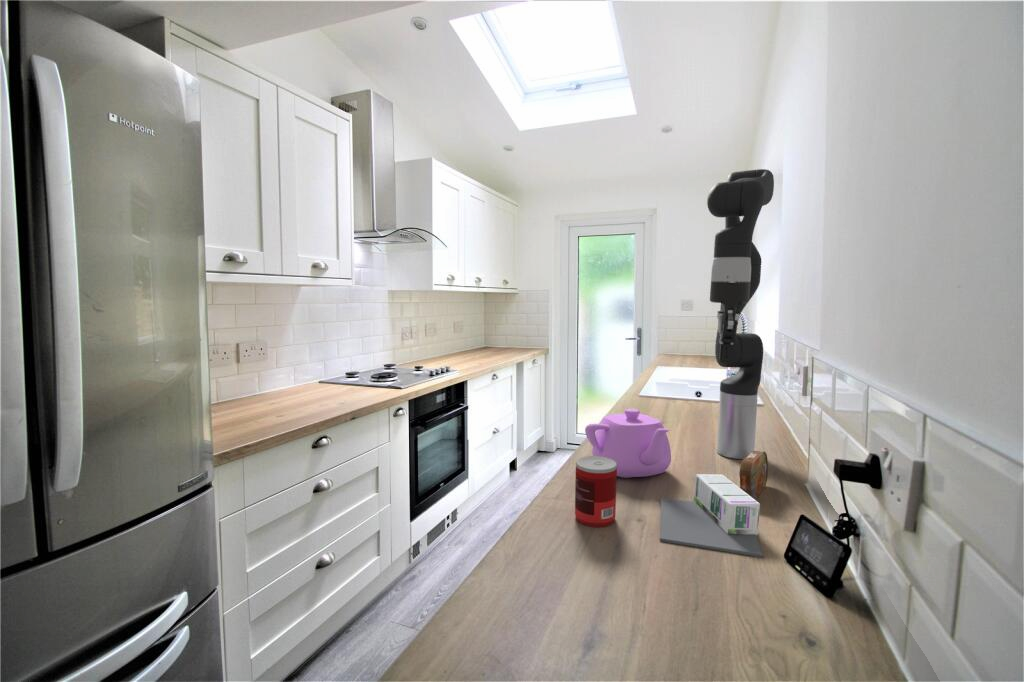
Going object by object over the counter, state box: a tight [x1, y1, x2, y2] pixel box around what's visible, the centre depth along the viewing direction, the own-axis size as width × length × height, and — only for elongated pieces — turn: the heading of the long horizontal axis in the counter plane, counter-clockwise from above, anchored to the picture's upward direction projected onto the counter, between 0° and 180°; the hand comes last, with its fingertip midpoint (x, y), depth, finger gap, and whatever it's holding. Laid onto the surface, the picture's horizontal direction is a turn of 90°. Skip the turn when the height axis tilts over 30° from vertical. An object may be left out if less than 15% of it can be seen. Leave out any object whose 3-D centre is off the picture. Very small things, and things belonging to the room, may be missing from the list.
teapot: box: [584, 408, 672, 479], centre depth 113 cm, size 23×21×15 cm
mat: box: [659, 497, 763, 558], centre depth 88 cm, size 18×16×1 cm
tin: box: [738, 450, 769, 501], centre depth 103 cm, size 15×3×8 cm, turn 140°
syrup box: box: [694, 473, 761, 535], centre depth 90 cm, size 6×6×14 cm
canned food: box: [574, 455, 618, 528], centre depth 90 cm, size 8×8×11 cm
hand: (725, 361), depth 101 cm, fingers closed
